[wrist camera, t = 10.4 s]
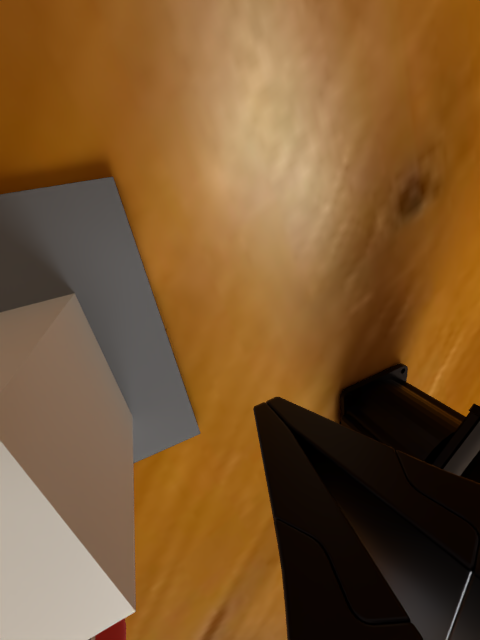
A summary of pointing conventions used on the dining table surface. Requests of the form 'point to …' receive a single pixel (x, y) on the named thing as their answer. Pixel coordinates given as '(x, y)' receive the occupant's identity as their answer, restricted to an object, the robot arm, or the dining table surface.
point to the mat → (98, 295)
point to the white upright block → (62, 479)
